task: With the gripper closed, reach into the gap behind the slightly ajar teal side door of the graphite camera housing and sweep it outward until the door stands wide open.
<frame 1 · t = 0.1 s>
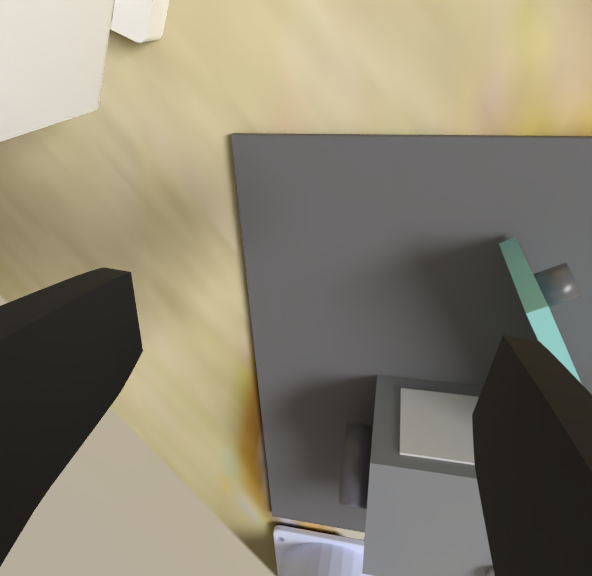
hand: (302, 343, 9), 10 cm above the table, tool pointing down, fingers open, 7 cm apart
housing: (453, 443, 23), resting on mat
mat: (461, 395, 22), on the table
side door: (573, 358, 16), point 3 cm above the table, hinge at 60.0°
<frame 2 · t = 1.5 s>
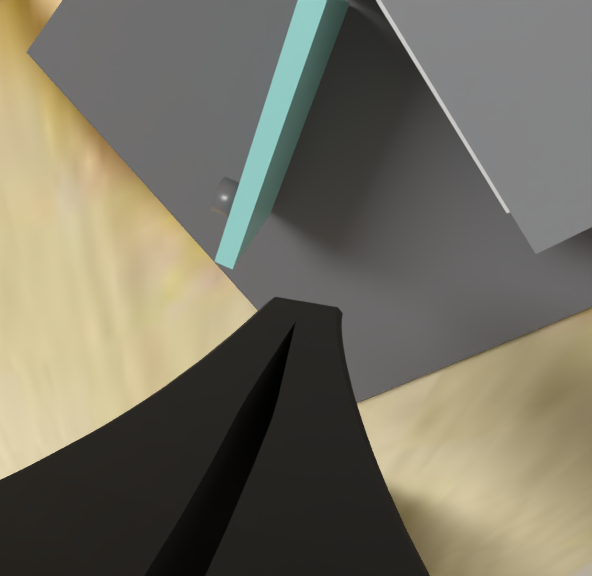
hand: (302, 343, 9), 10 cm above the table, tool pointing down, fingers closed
mat: (469, 67, 14), on the table
side door: (275, 109, 13), point 3 cm above the table, hinge at 60.0°
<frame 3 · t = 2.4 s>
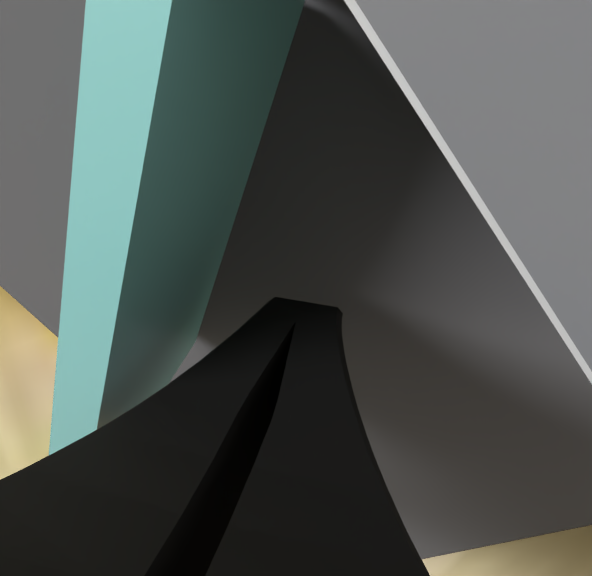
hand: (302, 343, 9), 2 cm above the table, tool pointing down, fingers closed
mat: (536, 120, 8), on the table
side door: (156, 214, 7), point 3 cm above the table, hinge at 60.0°
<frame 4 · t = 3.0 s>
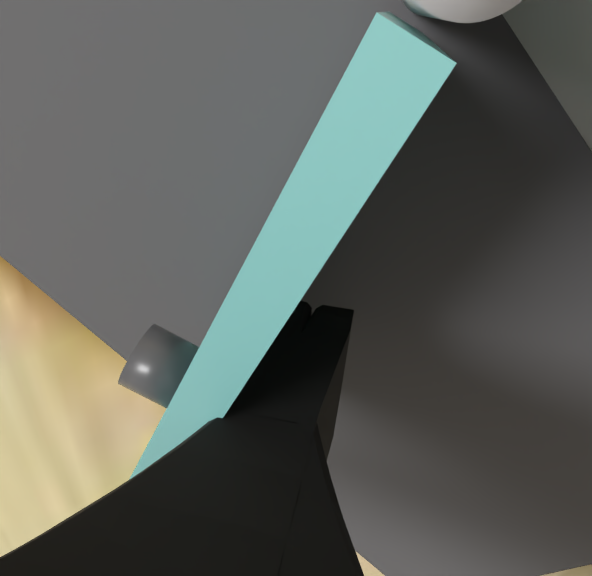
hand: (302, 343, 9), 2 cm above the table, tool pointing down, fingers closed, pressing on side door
side door: (255, 235, 7), point 3 cm above the table, hinge at 71.1°, touching gripper
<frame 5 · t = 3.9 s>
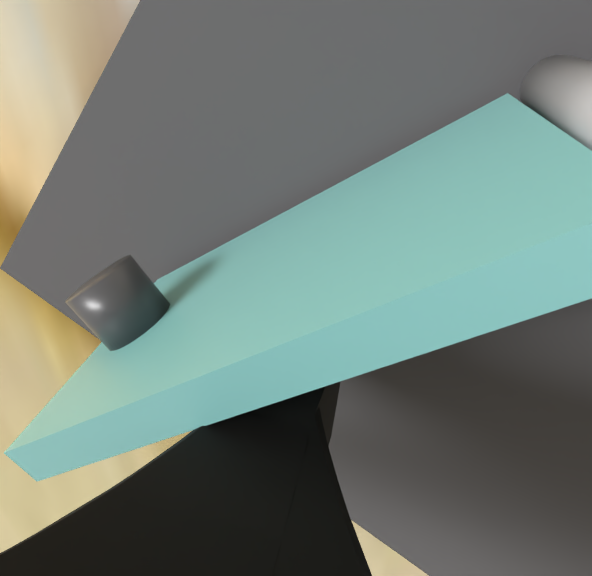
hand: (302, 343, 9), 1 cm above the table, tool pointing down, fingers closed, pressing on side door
side door: (301, 234, 6), point 3 cm above the table, hinge at 107.6°, touching gripper
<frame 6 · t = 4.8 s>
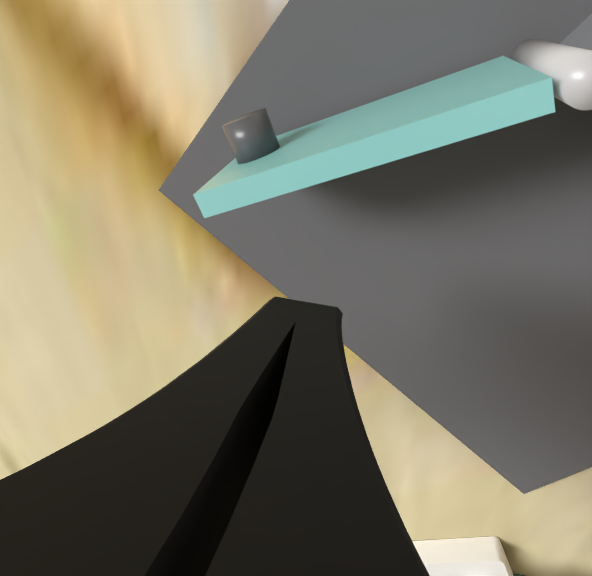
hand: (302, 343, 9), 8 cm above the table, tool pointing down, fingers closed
security camera: (470, 564, 24), on the table
side door: (377, 107, 11), point 3 cm above the table, hinge at 119.2°
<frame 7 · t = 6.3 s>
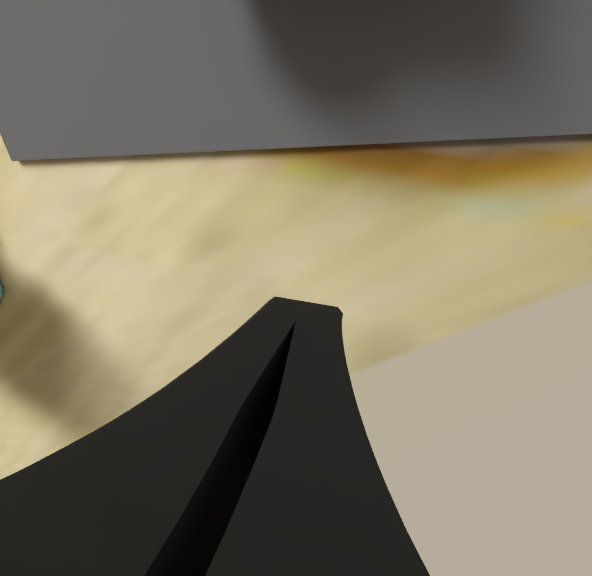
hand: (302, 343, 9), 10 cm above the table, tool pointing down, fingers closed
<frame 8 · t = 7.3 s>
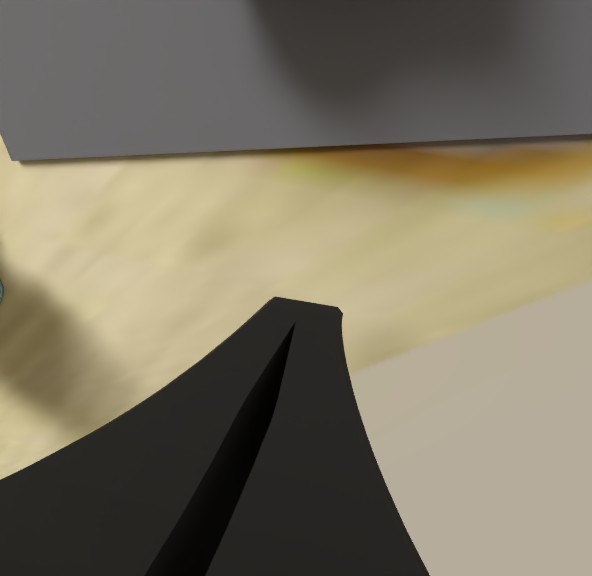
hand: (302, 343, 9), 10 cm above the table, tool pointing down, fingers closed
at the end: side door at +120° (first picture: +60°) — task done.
